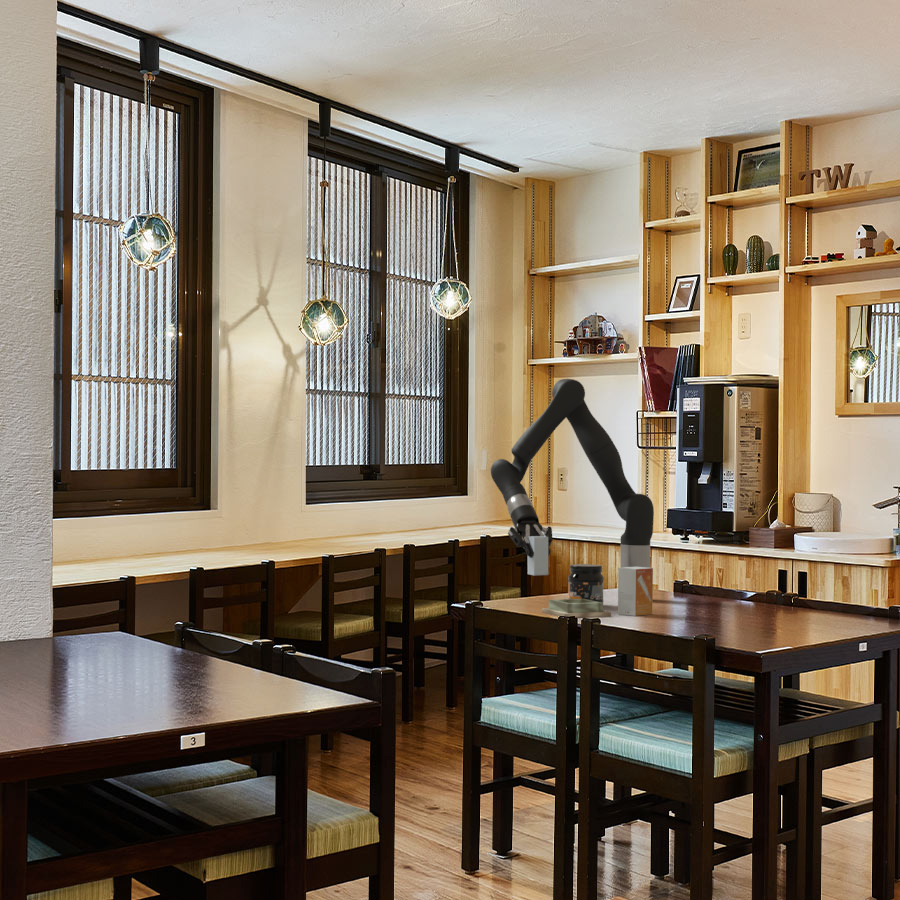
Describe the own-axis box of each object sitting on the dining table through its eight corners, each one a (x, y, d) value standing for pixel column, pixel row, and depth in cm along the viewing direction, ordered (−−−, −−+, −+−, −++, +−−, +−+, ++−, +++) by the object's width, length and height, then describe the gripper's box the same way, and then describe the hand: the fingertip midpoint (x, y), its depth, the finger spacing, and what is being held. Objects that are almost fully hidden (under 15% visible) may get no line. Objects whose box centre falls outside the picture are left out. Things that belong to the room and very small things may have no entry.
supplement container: (561, 604, 327) (561, 564, 327) (592, 603, 331) (592, 563, 332) (579, 608, 317) (579, 566, 318) (610, 607, 322) (610, 566, 322)
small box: (635, 616, 299) (636, 568, 299) (617, 614, 304) (617, 567, 304) (653, 614, 305) (653, 567, 305) (634, 612, 309) (635, 566, 310)
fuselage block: (541, 573, 320) (541, 536, 320) (548, 574, 315) (548, 536, 316) (527, 574, 318) (527, 536, 318) (534, 575, 314) (534, 537, 314)
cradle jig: (585, 610, 312) (585, 598, 312) (610, 616, 299) (610, 603, 299) (541, 611, 307) (541, 599, 307) (565, 617, 294) (565, 604, 294)
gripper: (504, 504, 322) (521, 547, 310) (547, 503, 327) (566, 546, 316) (496, 521, 327) (513, 564, 315) (539, 520, 332) (558, 563, 320)
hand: (540, 555), depth 315 cm, fingers closed on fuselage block, 4 cm apart
